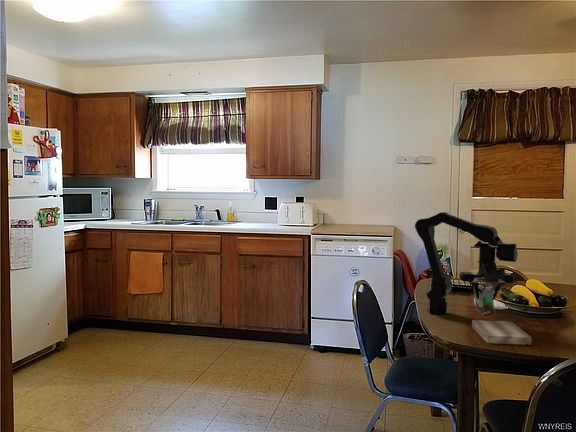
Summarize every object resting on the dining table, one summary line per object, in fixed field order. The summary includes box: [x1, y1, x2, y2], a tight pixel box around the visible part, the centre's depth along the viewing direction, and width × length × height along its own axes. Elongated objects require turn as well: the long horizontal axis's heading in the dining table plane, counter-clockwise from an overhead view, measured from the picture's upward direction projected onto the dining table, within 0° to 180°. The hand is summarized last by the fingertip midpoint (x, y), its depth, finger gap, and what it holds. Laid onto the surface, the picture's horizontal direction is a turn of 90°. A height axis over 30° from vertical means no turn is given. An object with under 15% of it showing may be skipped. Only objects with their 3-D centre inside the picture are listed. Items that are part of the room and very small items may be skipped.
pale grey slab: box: [471, 319, 532, 346], centre depth 167 cm, size 14×18×3 cm
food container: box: [473, 282, 495, 317], centre depth 183 cm, size 12×6×10 cm, turn 175°
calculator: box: [473, 297, 508, 310], centre depth 208 cm, size 13×20×2 cm, turn 72°
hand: (485, 299), depth 183 cm, fingers closed on food container, 6 cm apart
